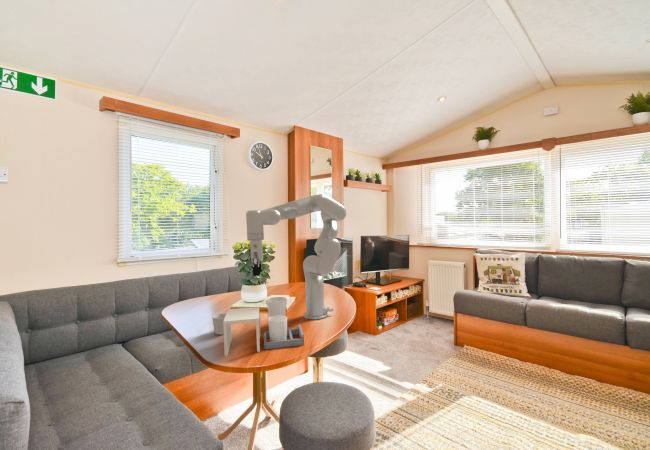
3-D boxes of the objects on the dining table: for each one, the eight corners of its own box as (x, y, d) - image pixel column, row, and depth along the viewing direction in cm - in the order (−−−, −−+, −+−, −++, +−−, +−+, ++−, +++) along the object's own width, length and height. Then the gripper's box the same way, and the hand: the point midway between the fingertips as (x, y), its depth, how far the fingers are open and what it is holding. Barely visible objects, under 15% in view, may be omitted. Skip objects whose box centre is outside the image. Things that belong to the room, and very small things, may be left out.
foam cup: (285, 321, 151) (284, 295, 151) (289, 328, 143) (288, 300, 142) (266, 324, 148) (265, 298, 148) (269, 331, 139) (268, 302, 139)
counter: (260, 336, 133) (259, 306, 133) (259, 352, 117) (258, 318, 117) (229, 339, 130) (228, 309, 130) (224, 356, 115) (223, 321, 115)
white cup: (284, 346, 122) (283, 321, 122) (265, 345, 124) (265, 321, 123) (290, 338, 130) (289, 315, 130) (273, 337, 131) (272, 314, 131)
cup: (217, 328, 146) (216, 311, 145) (234, 327, 146) (233, 310, 146) (210, 336, 135) (210, 318, 135) (229, 335, 135) (228, 317, 135)
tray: (300, 333, 135) (300, 324, 135) (304, 344, 122) (303, 335, 122) (264, 337, 132) (263, 328, 132) (264, 349, 119) (263, 339, 119)
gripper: (262, 237, 133) (264, 276, 133) (264, 235, 150) (266, 270, 150) (245, 238, 132) (247, 277, 132) (249, 236, 149) (250, 271, 149)
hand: (257, 273), depth 141 cm, fingers open, 9 cm apart
